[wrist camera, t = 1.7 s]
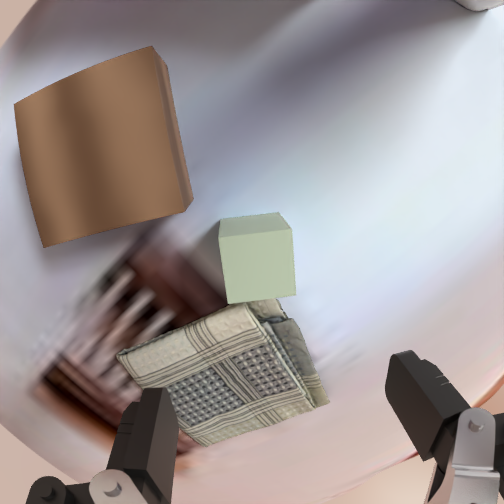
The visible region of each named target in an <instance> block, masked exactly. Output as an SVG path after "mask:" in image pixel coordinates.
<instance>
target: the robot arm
mask: <svg viewBox="0 0 504 504" xmlns="http://www.w3.org/2000/svg"><path fill="white" fill-rule="evenodd" d="M455 1H457V2H458V3H459V4H461V5H462V6H464V7H466V8H467V9H470V10H472V11H482V10H484V9H493V8H496V7H498V6H501V5H504V0H455ZM385 393H386V397H387V399H388V401H389V403H390V405H391V406H392V408H393V410H394V412H395V413H396V415H397V417H398V418H399V420H400V422H401V423H402V425H403V427H404V429H405V430H406V432H407V434H408V436H409V437H410V439H411V441H412V443H413V444H414V446H415V448H416V450H417V451H418V453H419V455H420V457H421V458H422V460H423V461H426V460H428V459H430V458H433V457H434V458H435V460H436V463H435V466H434V469H433V473H432V477H431V481H430V484H429V488H428V492H427V495H426V498H425V501H424V504H497V499H498V491H499V492H500V494H501V496H502V497H503V499H504V413H501V414H496V415H492V414H491V413H489V412H488V411H487V410H485V409H481V408H471V407H470V406H469V404H468V403H467V402H466V401H465V400H464V398H463V397H462V396H461V395H460V393H459V392H458V391H457V390H456V389H455V387H454V386H453V385H452V384H451V383H449V380H448V379H447V378H446V377H445V376H443V373H442V372H441V371H440V370H439V369H438V367H437V366H436V365H434V364H432V363H431V362H429V361H427V360H425V359H424V360H420V359H419V357H418V356H417V355H416V354H415V353H414V352H413V351H412V350H408V351H404V352H400V353H397V354H393V355H392V356H391V358H390V362H389V368H388V373H387V379H386V384H385ZM178 433H179V424H178V418H177V415H176V412H175V409H174V407H173V404H172V401H171V398H170V396H169V393H168V390H167V388H166V387H154V388H144V390H143V393H142V396H141V400H140V402H132V403H131V404H130V405H129V406H128V407H127V408H126V410H125V411H124V412H123V415H122V418H121V421H120V425H119V428H118V431H117V434H116V437H115V441H114V444H113V447H112V451H111V454H110V458H109V461H108V465H107V467H106V470H104V471H101V472H99V473H98V474H96V475H95V476H94V477H93V478H92V480H91V482H89V483H83V484H74V485H64V484H63V483H62V482H61V480H59V479H58V478H56V477H52V476H46V477H42V478H39V479H38V480H37V481H35V482H34V484H33V485H32V486H31V489H30V492H29V495H28V498H27V501H26V504H171V496H172V486H173V477H174V467H175V458H176V450H177V441H178Z"/></svg>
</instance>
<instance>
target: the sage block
mask: <svg viewBox="0 0 504 504" xmlns="http://www.w3.org/2000/svg"><path fill="white" fill-rule="evenodd" d="M218 240H219V247H220V254H221V261H222V268H223V275H224V281H225V288H226V294H227V301H228V304H232V303H240V302H249V301H256V300H264V299H272V298H279V297H287V296H294V295H296V285H295V268H294V253H293V239H292V229H291V227H290V226H289V225H288V223H287V222H286V221H285V220H284V218H283V217H282V216H281V215H280V213H279V212H277V213H268V214H259V215H250V216H242V217H234V218H226V219H221V220H220V227H219V235H218Z"/></svg>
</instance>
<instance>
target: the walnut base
mask: <svg viewBox="0 0 504 504" xmlns="http://www.w3.org/2000/svg"><path fill="white" fill-rule="evenodd" d="M14 111H15V120H16V128H17V135H18V142H19V148H20V154H21V160H22V165H23V171H24V175H25V180H26V185H27V189H28V194H29V198H30V202H31V206H32V210H33V213H34V217H35V221H36V224H37V228H38V231H39V235H40V238H41V241H42V244H43V248H46V247H49V246H53V245H56V244H60V243H63V242H67V241H70V240H74V239H78V238H81V237H85V236H89V235H92V234H96V233H100V232H104V231H108V230H111V229H115V228H119V227H123V226H127V225H131V224H135V223H139V222H144V221H148V220H152V219H156V218H160V217H165V216H169V215H173V214H178V213H182V212H185V211H186V209H187V208H188V206H189V205H190V204H191V202H192V201H193V199H194V198H193V194H192V189H191V185H190V180H189V176H188V171H187V166H186V162H185V157H184V152H183V147H182V142H181V137H180V132H179V127H178V122H177V117H176V112H175V107H174V101H173V96H172V91H171V85H170V80H169V74H168V68H167V65H166V64H165V62H164V61H163V60H162V59H161V57H160V56H159V55H158V53H157V52H156V51H155V49H154V48H153V47H152V46H149V47H146V48H143V49H139V50H136V51H133V52H130V53H127V54H124V55H121V56H118V57H115V58H113V59H110V60H107V61H104V62H102V63H99V64H97V65H94V66H92V67H89V68H87V69H84V70H82V71H80V72H77V73H75V74H73V75H70V76H68V77H66V78H64V79H62V80H59V81H57V82H55V83H53V84H51V85H49V86H47V87H45V88H43V89H41V90H39V91H37V92H35V93H33V94H31V95H30V96H28V97H26V98H24V99H22V100H21V101H19V102H17V103H15V104H14Z"/></svg>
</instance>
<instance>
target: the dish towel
mask: <svg viewBox="0 0 504 504" xmlns="http://www.w3.org/2000/svg"><path fill="white" fill-rule="evenodd" d="M281 310H283V309H282V308H281V304H280V303H279V301H278V300H277V299H275V298H272V299H264V300H256V301H249V302H240V303H233V304H231V305H228V306H226V307H225V308H222V309H220V310H218V311H216V312H214V313H211V314H209V315H207V316H205V317H202V318H200V319H198V320H196V321H194V322H192V323H190V324H187V325H185V326H183V327H181V328H178V329H175V330H173V331H169V332H167V333H165V334H163V335H160V336H158V337H156V338H153V339H151V340H149V341H146V342H144V343H142V344H138V345H136V346H134V347H131V348H129V349H124V350H122V351H121V352H119V353H117V354H116V357H117V359H118V360H119V361H120V363H121V364H122V365H123V366H124V368H125V369H126V370H127V371H128V373H129V374H130V375H131V376H132V378H133V379H134V380H135V382H136V383H137V384H138V385H139V386H140V387H141V388H142V390H144V388H154V387H166V388H167V390H168V393H169V396H170V398H171V401H172V404H173V407H174V409H175V412H176V415H177V418H178V424H179V427H180V428H181V429H182V430H183V431H185V432H186V433H187V434H188V435H189V436H190V437H192V438H193V439H194V440H195V441H196V442H198V443H199V444H200V445H202V446H203V447H207V446H209V445H212V444H214V443H217V442H220V441H223V440H226V439H228V438H231V437H234V436H238V435H240V434H243V433H246V432H250V431H253V430H257V429H261V428H264V427H267V426H270V425H273V424H276V423H278V422H281V421H283V420H286V419H288V418H291V417H294V416H296V415H299V414H302V413H306V412H309V411H312V410H315V409H316V408H317V407H320V406H323V405H326V404H328V403H330V401H329V400H328V397H327V396H326V393H325V390H324V389H323V386H322V385H321V380H320V378H319V376H318V374H317V371H316V370H315V368H314V365H313V363H312V360H311V357H310V354H309V352H308V350H307V347H306V344H305V340H304V338H303V336H302V334H301V331H300V328H299V327H298V325H297V324H296V323H295V321H294V319H292V318H288V317H287V315H286V313H285V312H282V311H281Z"/></svg>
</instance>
